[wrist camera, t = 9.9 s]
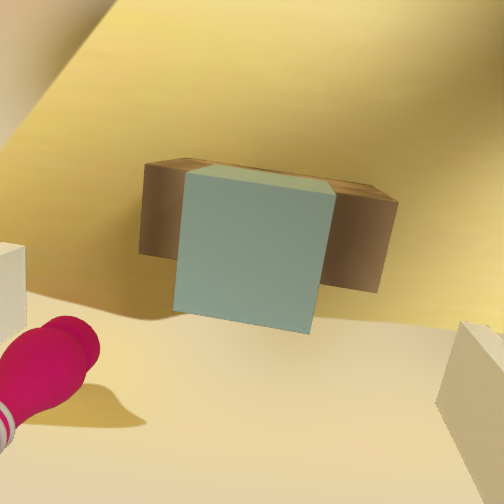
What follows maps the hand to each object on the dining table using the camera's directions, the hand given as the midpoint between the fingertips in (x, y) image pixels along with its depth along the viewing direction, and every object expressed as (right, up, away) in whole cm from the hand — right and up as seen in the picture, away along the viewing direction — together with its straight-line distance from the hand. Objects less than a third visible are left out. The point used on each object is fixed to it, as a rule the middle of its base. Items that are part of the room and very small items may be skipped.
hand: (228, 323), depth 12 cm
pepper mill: (-18, -7, +30) cm, 35 cm away
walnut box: (+2, +6, +24) cm, 25 cm away
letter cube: (+1, +4, +14) cm, 15 cm away
